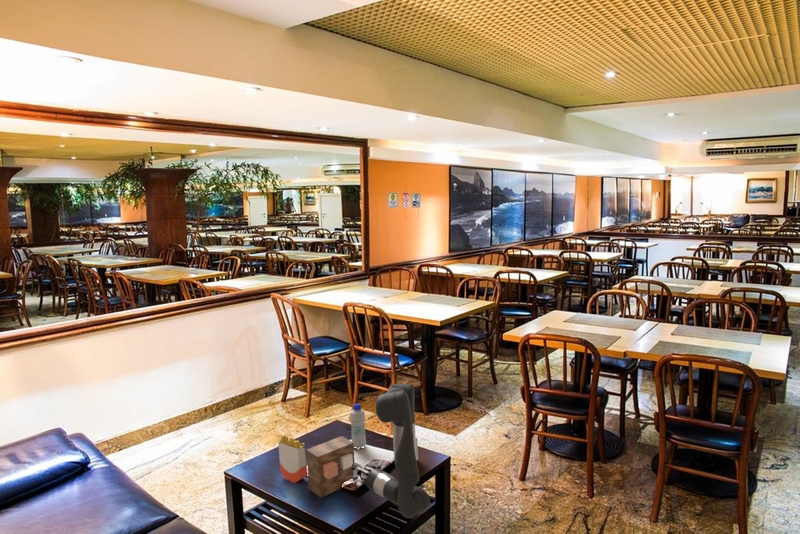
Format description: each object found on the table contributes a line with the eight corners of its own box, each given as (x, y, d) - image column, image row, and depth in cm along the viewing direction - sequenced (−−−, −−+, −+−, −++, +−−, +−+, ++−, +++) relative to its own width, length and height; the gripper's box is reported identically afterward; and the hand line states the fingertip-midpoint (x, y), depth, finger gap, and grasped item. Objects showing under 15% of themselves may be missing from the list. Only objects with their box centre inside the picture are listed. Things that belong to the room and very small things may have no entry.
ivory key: (346, 462, 205) (346, 451, 204) (353, 465, 202) (352, 454, 201) (337, 466, 202) (336, 455, 201) (343, 469, 199) (342, 458, 198)
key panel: (343, 474, 211) (341, 436, 209) (355, 481, 205) (353, 442, 203) (309, 489, 200) (306, 449, 198) (320, 497, 194) (317, 456, 192)
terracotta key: (331, 470, 198) (331, 459, 198) (337, 474, 195) (337, 463, 195) (321, 475, 195) (321, 464, 195) (327, 479, 192) (327, 467, 192)
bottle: (369, 447, 233) (367, 403, 230) (357, 452, 228) (355, 408, 226) (360, 442, 238) (358, 399, 235) (348, 447, 233) (346, 404, 231)
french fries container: (289, 472, 214) (286, 430, 211) (308, 479, 207) (305, 436, 205) (280, 477, 210) (277, 434, 208) (299, 485, 204) (296, 441, 201)
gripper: (396, 466, 188) (367, 450, 201) (366, 480, 179) (338, 462, 192) (397, 486, 189) (368, 469, 202) (367, 501, 180) (339, 481, 193)
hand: (353, 465), depth 197 cm, fingers closed
